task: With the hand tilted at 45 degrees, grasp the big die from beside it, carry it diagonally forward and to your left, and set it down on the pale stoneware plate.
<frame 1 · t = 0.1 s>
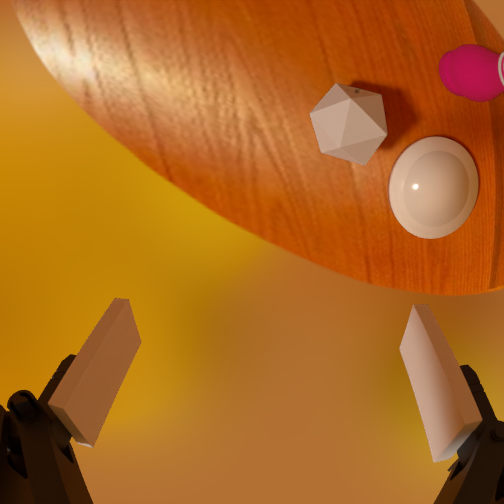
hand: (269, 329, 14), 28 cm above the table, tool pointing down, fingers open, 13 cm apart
plate: (434, 187, 38), on the table
pepper mill: (457, 73, 30), on the table
die: (343, 120, 35), on the table
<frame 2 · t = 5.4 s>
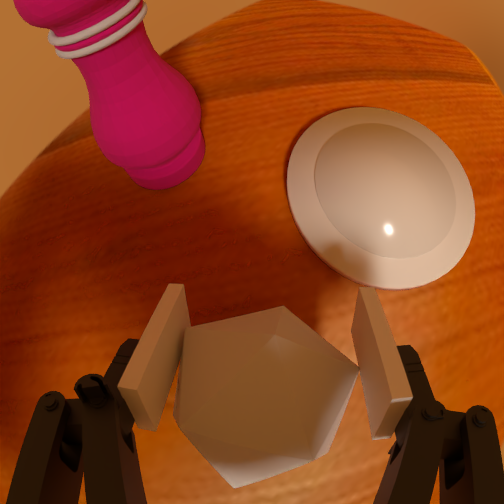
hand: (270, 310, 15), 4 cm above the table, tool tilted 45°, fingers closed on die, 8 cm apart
plate: (385, 190, 21), on the table
pepper mill: (166, 156, 23), on the table
die: (263, 388, 18), on the table, touching gripper
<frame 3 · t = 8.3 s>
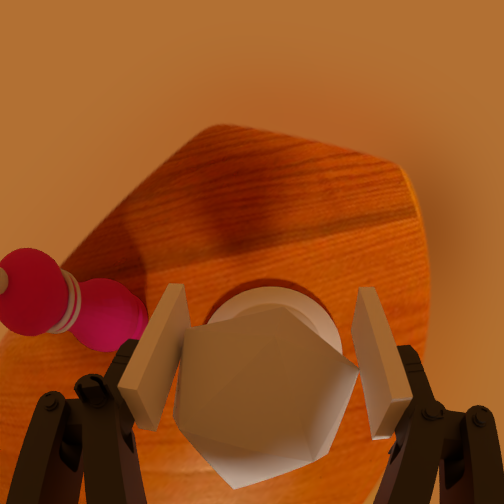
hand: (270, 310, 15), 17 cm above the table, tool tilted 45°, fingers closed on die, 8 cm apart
plate: (270, 357, 31), on the table
pepper mill: (123, 320, 33), on the table
die: (263, 389, 18), point 13 cm above the table, touching gripper
when the fingers open (6 cm above the table, at t = 10.8 s): die stays where it is, resting on plate.
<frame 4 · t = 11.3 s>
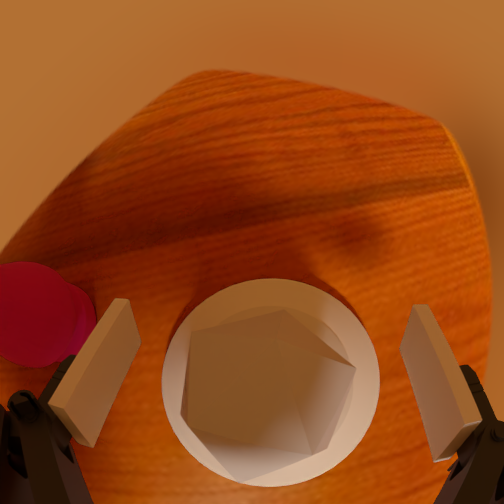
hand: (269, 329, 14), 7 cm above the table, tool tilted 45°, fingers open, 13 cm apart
plate: (270, 386, 20), on the table
pepper mill: (67, 323, 22), on the table
die: (265, 388, 19), point 1 cm above the table, touching plate
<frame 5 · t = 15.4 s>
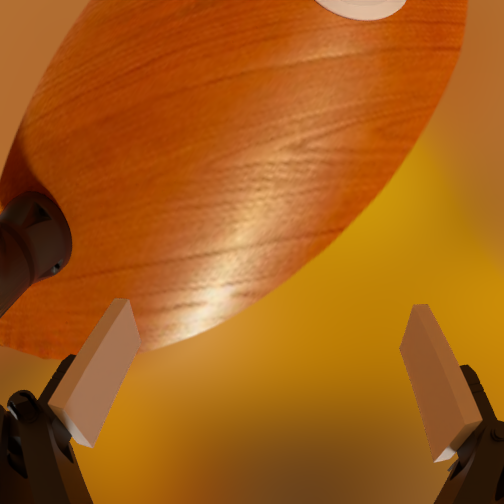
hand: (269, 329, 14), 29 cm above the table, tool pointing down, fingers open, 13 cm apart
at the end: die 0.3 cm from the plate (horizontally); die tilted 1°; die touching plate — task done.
